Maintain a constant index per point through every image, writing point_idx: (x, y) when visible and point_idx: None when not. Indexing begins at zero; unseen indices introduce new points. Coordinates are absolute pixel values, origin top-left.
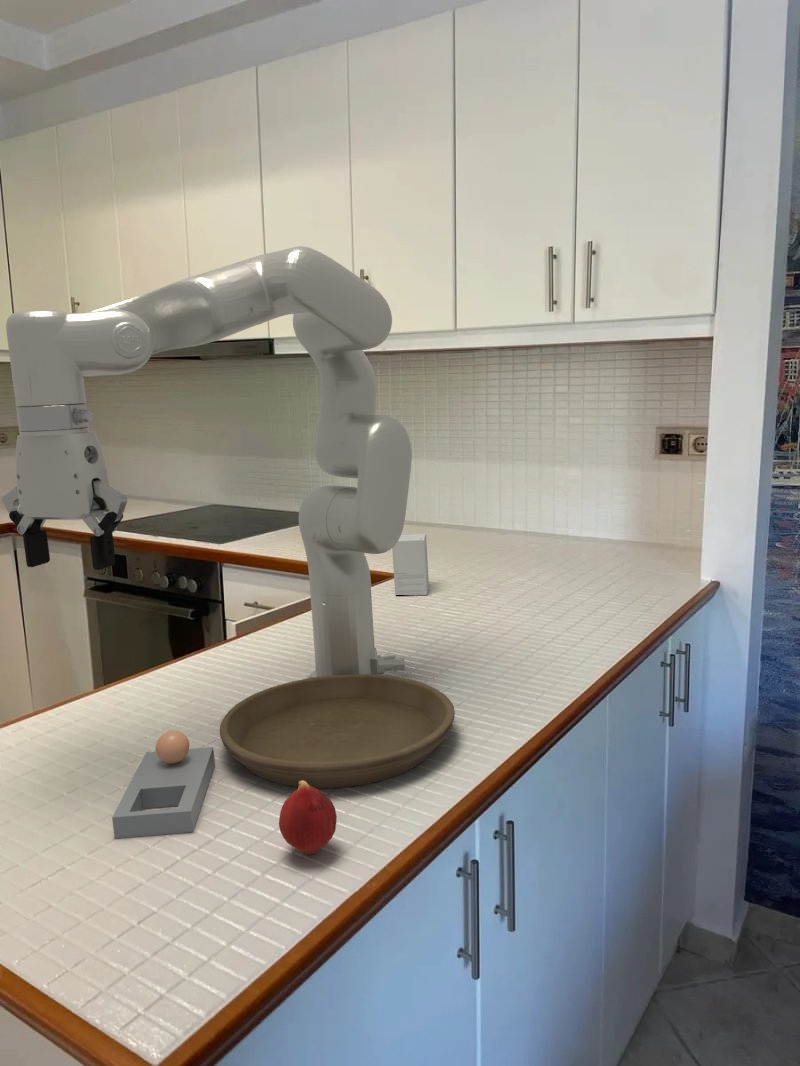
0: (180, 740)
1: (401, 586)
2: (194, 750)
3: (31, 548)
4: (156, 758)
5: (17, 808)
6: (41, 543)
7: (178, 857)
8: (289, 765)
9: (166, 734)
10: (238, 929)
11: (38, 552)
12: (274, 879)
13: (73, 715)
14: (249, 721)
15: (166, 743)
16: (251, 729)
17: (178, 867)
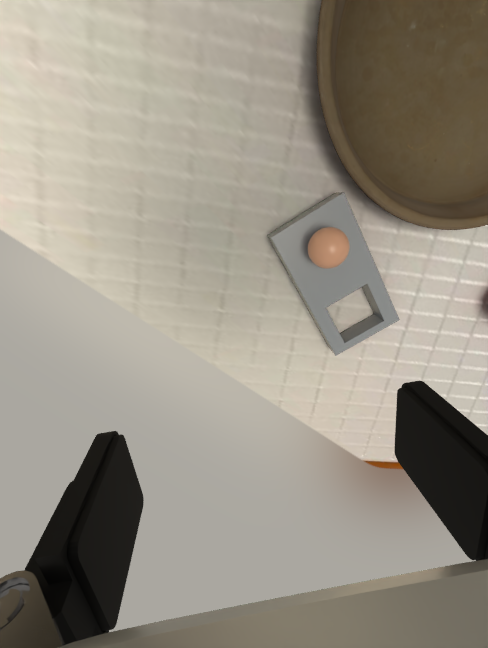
0: (348, 251)
1: None
2: (326, 210)
3: (128, 560)
4: (295, 246)
5: (200, 348)
6: (109, 527)
7: (396, 344)
8: (478, 226)
9: (333, 258)
10: (477, 385)
11: (124, 511)
12: (481, 336)
13: (11, 129)
14: (334, 77)
15: (336, 265)
16: (337, 87)
17: (404, 354)
